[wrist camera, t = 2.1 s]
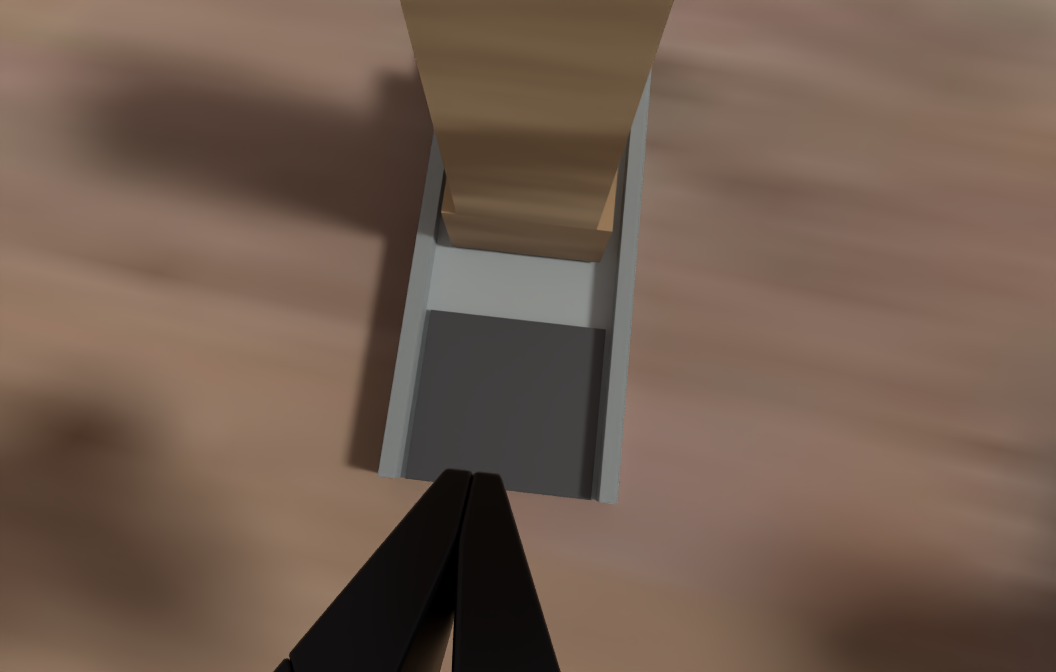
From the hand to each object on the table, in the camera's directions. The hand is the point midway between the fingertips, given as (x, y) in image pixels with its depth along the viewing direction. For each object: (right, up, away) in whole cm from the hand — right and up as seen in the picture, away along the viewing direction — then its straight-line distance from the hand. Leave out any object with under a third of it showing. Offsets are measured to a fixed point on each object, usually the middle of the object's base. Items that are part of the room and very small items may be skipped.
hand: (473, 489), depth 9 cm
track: (+1, +8, +14) cm, 16 cm away
